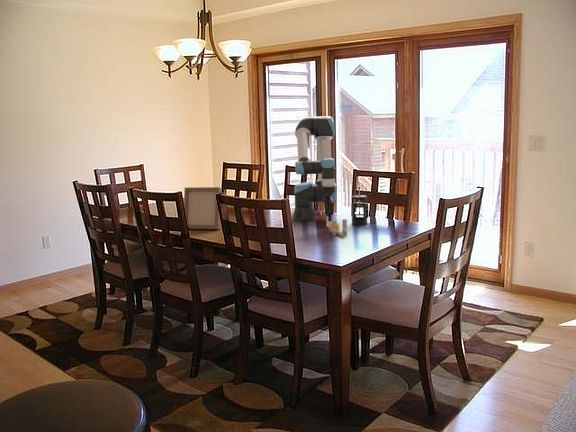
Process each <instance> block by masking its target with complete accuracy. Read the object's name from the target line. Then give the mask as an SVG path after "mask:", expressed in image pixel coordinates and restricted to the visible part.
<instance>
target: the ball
mask: <svg viewBox="0 0 576 432" xmlns="http://www.w3.org/2000/svg"><path fill="white" fill-rule="evenodd" d="M328 230H329V232H330V233H332V223H330V225H329V227H328ZM337 230H338V231H340V224H339V223H338V222H337Z"/></svg>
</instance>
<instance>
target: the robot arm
mask: <svg viewBox="0 0 576 432" xmlns="http://www.w3.org/2000/svg"><path fill="white" fill-rule="evenodd" d="M335 127H336V126H335V121H334V118H333V117H332V116H325V115H324V116H323V115H322V116H307V117H304V118H303V119H301V120H300V121H299V122H298V124H297V125H296V127H295V131H294V134H295V138H296V144H297V161H296V162H295V164H294V165H295V166H294V167H295V174H296V175H317V176H318V178H317V179H316V181H315V184H314V182H313V181H305V182H301V183H298V184H295V186H294V192H293V193H294V210H293V214H292V221H295V222H312V221H316V220H317V213H316V211H315V208H314V204H315V203H316V204H317V203H323V209H324V210H323V211H324V214H325V217H326V220H325V221H326V227H327V228H329V225H330V223H332V220H333V215H334V209H335V201H336V200H337V192H338V184H337V183H336V178H335V177H336V176H335V174H336V173H335V172H336V170H335V169H336V164H335V159H334V158H332V144H331V143H332V142H331V141H332V139H333V138H334V135H336V128H335ZM311 136H314V139H315V141H316V142H317V144H316V145H317V147H316V149H317V153H316V154H317V160H312V157H311V142H310V138H311Z"/></svg>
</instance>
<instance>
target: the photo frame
mask: <svg viewBox="0 0 576 432" xmlns="http://www.w3.org/2000/svg"><path fill="white" fill-rule="evenodd" d="M216 193H221V194H222V188H221V187H219V186H215V187H213V186H211V187H208V186H207V187H204V186H203V187H184V196H183V199H184V201H183V208H184V207H185V213H186V218H187V223H188V228H189V229H188V230H221V222H220V216H219V212H218V207H217V203H216V196H215V195H216Z"/></svg>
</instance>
